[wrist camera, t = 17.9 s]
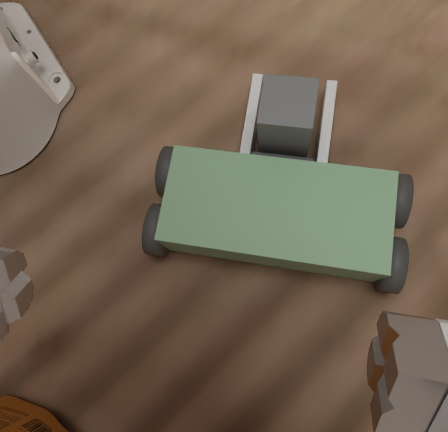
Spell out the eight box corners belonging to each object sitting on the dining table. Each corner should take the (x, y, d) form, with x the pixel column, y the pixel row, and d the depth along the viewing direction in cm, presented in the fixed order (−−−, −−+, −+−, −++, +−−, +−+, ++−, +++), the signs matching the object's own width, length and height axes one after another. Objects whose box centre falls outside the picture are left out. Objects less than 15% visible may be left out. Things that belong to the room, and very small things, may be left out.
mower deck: (153, 257, 42) (134, 247, 36) (189, 83, 46) (178, 49, 41) (389, 295, 39) (410, 291, 33) (404, 103, 43) (425, 69, 37)
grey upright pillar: (259, 166, 43) (256, 122, 33) (266, 127, 44) (264, 74, 34) (303, 171, 42) (312, 128, 33) (308, 131, 43) (319, 78, 34)
